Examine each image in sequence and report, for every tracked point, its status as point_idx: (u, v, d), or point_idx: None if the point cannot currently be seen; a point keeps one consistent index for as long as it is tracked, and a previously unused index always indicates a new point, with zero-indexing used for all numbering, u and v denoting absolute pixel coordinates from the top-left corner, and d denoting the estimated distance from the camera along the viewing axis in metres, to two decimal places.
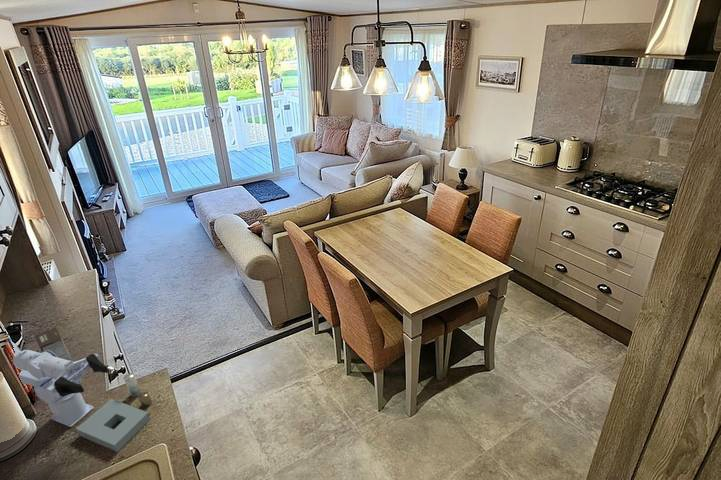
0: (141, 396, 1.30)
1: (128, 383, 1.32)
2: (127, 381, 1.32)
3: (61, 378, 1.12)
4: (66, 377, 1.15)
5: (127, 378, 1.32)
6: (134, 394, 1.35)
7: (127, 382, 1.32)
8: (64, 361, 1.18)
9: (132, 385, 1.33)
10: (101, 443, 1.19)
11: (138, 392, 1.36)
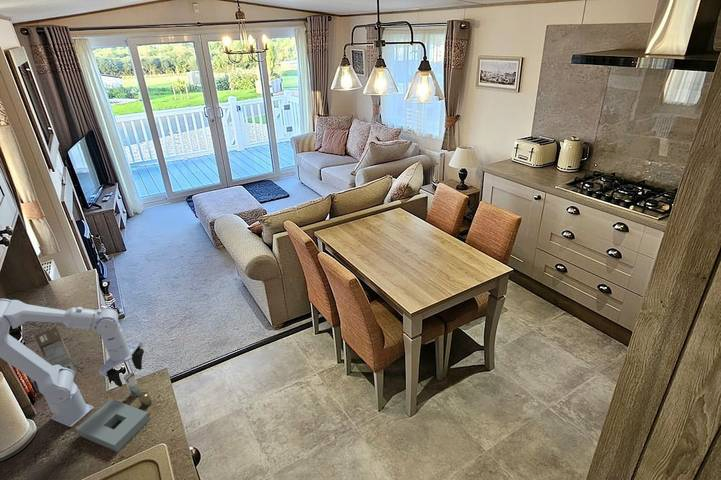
0: (141, 396, 1.30)
1: (128, 383, 1.32)
2: (127, 381, 1.32)
3: (117, 373, 1.26)
4: None
5: (127, 378, 1.32)
6: (134, 394, 1.35)
7: (127, 382, 1.32)
8: (126, 347, 1.27)
9: (132, 385, 1.33)
10: (101, 443, 1.19)
11: (138, 392, 1.36)
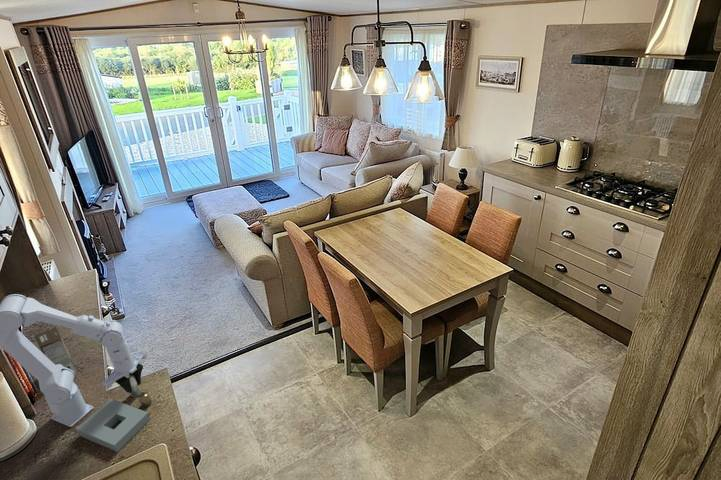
0: (141, 396, 1.30)
1: None
2: None
3: (128, 380, 1.30)
4: None
5: None
6: (134, 394, 1.35)
7: None
8: (130, 358, 1.30)
9: (132, 385, 1.33)
10: (101, 443, 1.19)
11: (138, 392, 1.36)
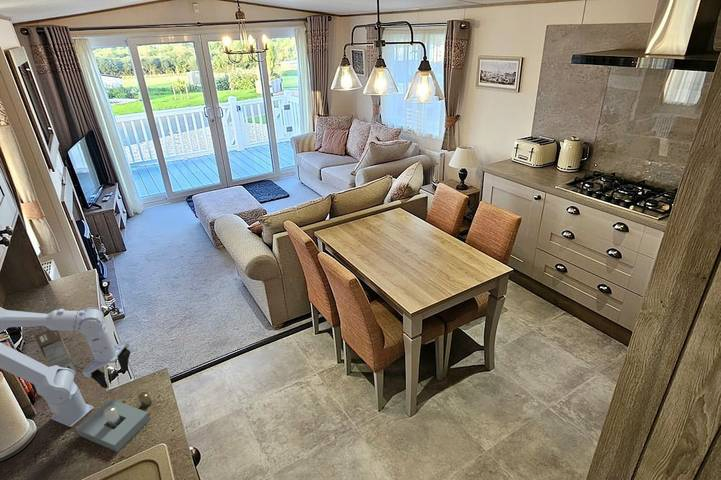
0: (141, 396, 1.30)
1: (108, 417, 1.20)
2: (106, 415, 1.20)
3: (102, 374, 1.23)
4: None
5: (107, 412, 1.20)
6: None
7: (106, 416, 1.20)
8: (111, 347, 1.25)
9: (112, 419, 1.21)
10: (101, 443, 1.19)
11: None
